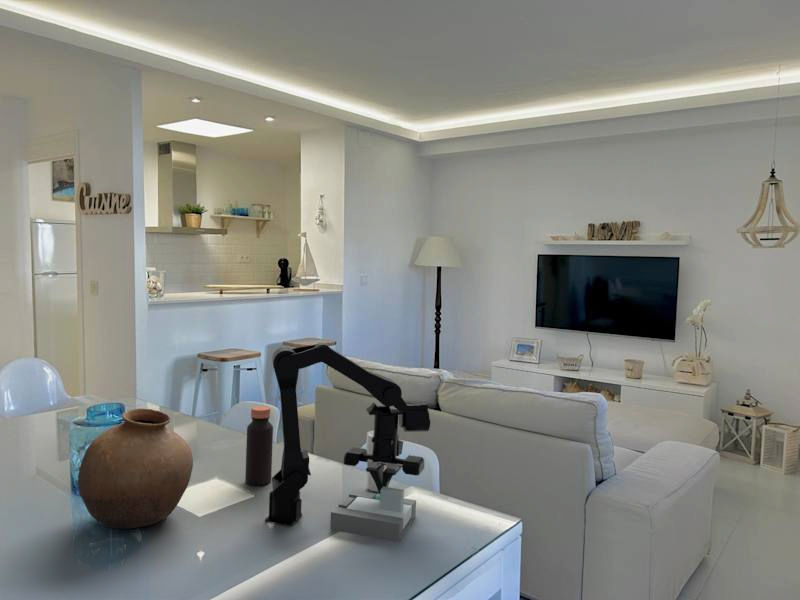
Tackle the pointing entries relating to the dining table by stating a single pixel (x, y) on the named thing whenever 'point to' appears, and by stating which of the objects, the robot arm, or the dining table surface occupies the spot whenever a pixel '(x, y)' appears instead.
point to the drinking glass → (369, 448)
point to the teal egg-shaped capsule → (378, 496)
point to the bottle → (259, 447)
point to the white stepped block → (385, 504)
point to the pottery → (135, 471)
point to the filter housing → (369, 519)
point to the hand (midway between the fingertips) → (382, 495)
